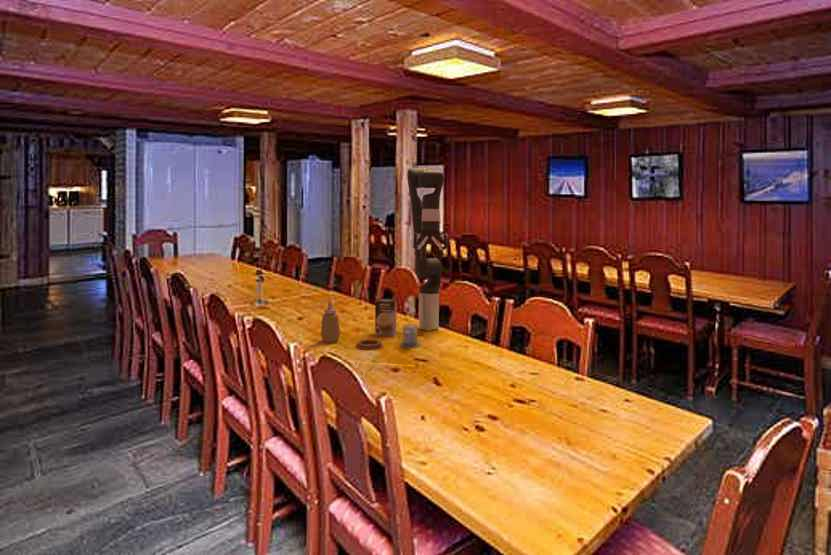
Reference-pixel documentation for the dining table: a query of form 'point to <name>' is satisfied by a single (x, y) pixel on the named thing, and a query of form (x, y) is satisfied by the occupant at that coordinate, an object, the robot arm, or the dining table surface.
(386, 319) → the coffee box
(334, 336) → the squeeze bottle
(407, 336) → the jug
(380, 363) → the dining table surface
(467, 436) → the dining table surface
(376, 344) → the stand
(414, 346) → the felt coaster
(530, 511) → the dining table surface
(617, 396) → the dining table surface
